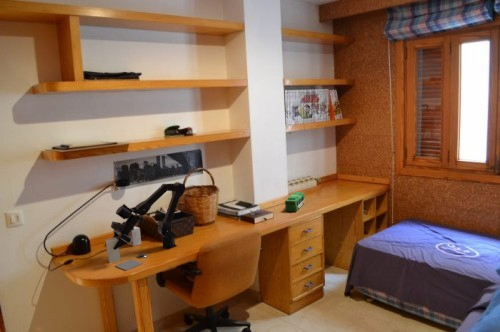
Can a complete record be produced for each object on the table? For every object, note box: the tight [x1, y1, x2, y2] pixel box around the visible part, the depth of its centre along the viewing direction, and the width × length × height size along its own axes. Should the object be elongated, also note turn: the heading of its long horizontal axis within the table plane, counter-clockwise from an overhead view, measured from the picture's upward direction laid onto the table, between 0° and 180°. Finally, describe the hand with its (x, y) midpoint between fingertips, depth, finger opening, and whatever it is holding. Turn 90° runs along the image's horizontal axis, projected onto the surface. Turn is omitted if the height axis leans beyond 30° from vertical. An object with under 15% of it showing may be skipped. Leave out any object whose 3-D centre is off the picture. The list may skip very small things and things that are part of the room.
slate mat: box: [114, 259, 143, 271], centre depth 215 cm, size 10×10×1 cm
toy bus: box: [284, 191, 306, 213], centre depth 307 cm, size 11×27×10 cm, turn 151°
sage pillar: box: [105, 237, 121, 264], centre depth 223 cm, size 6×6×12 cm
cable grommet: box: [136, 253, 148, 259], centre depth 227 cm, size 6×6×1 cm
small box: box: [127, 226, 142, 247], centre depth 248 cm, size 8×6×10 cm
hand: (112, 247), depth 222 cm, fingers open, 9 cm apart
